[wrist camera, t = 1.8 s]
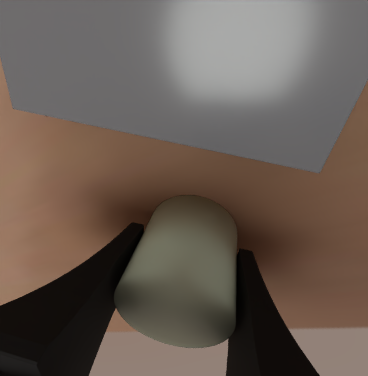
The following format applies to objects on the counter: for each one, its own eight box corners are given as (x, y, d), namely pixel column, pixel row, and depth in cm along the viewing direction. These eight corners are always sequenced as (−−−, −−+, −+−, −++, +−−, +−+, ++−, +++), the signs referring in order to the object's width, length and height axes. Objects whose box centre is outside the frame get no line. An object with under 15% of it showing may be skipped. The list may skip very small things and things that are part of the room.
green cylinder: (248, 207, 12) (252, 294, 8) (225, 270, 15) (219, 359, 11) (154, 185, 13) (112, 257, 9) (148, 250, 16) (115, 329, 11)
